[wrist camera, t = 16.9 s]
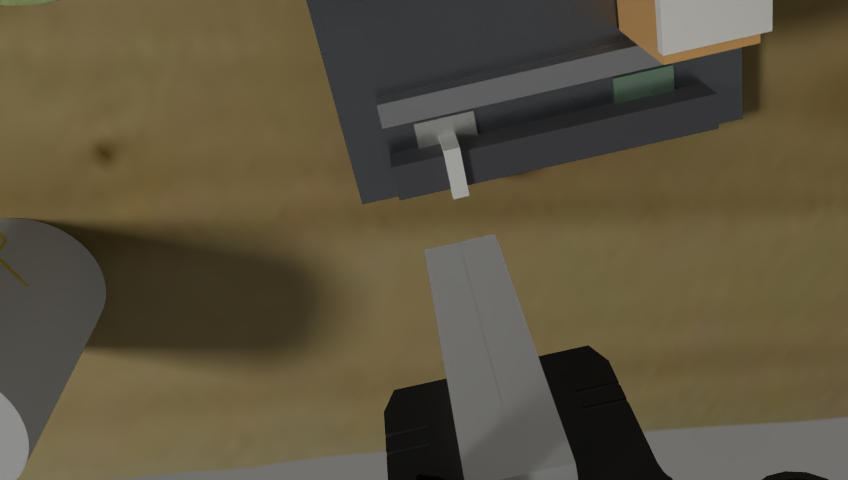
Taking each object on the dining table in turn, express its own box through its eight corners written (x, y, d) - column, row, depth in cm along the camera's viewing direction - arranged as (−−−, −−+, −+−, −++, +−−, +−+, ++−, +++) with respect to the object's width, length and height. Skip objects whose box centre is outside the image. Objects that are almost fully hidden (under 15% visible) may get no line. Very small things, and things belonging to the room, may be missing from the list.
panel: (273, -131, 34) (268, -127, 32) (723, -238, 34) (751, -242, 32) (362, 192, 42) (363, 214, 40) (730, 108, 42) (753, 126, 39)
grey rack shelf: (318, -135, 33) (316, -132, 31) (691, -224, 33) (713, -226, 31) (399, 192, 41) (401, 210, 39) (704, 123, 40) (722, 138, 38)
